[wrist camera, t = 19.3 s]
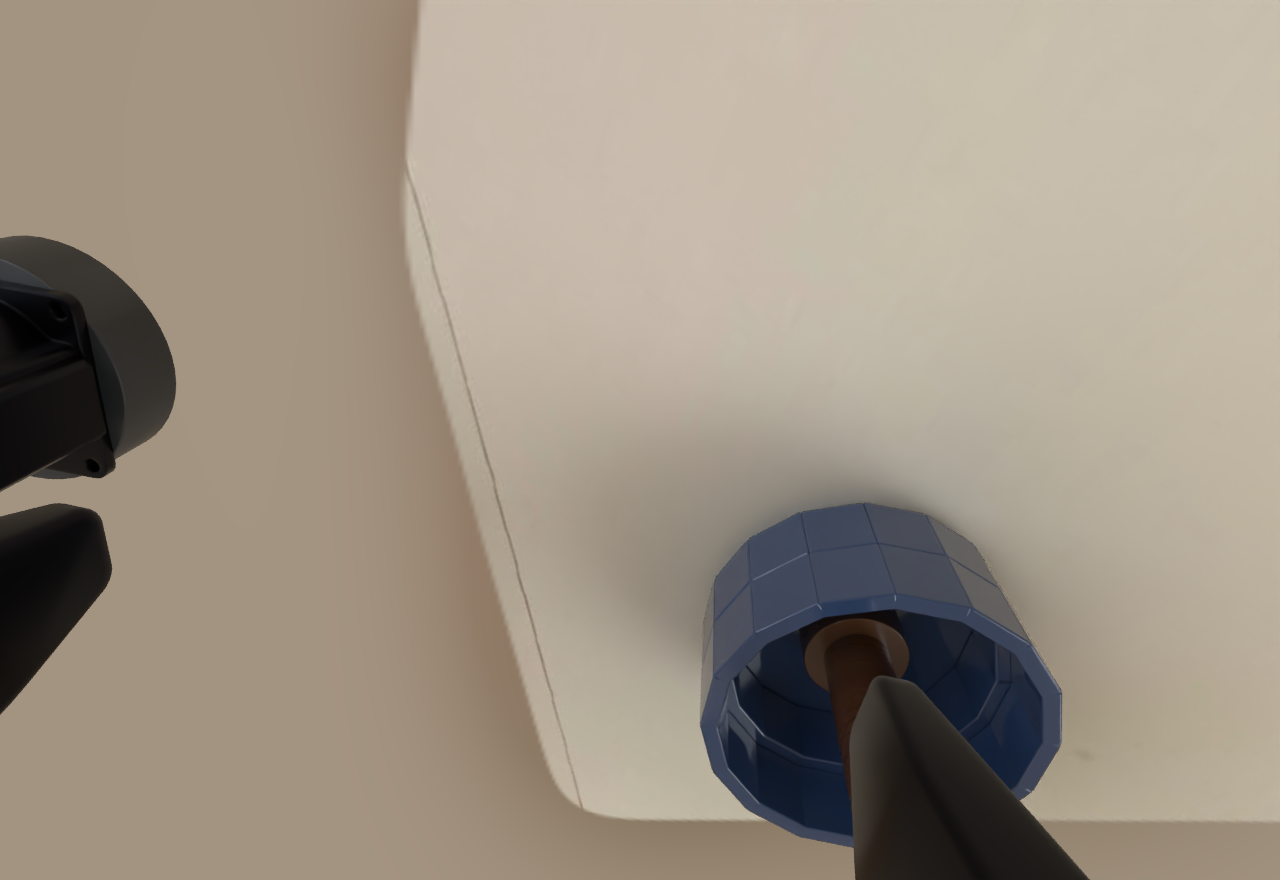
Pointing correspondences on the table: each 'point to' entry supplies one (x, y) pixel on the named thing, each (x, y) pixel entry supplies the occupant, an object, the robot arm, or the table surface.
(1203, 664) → the table surface
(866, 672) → the muddler
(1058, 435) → the table surface
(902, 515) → the bowl
